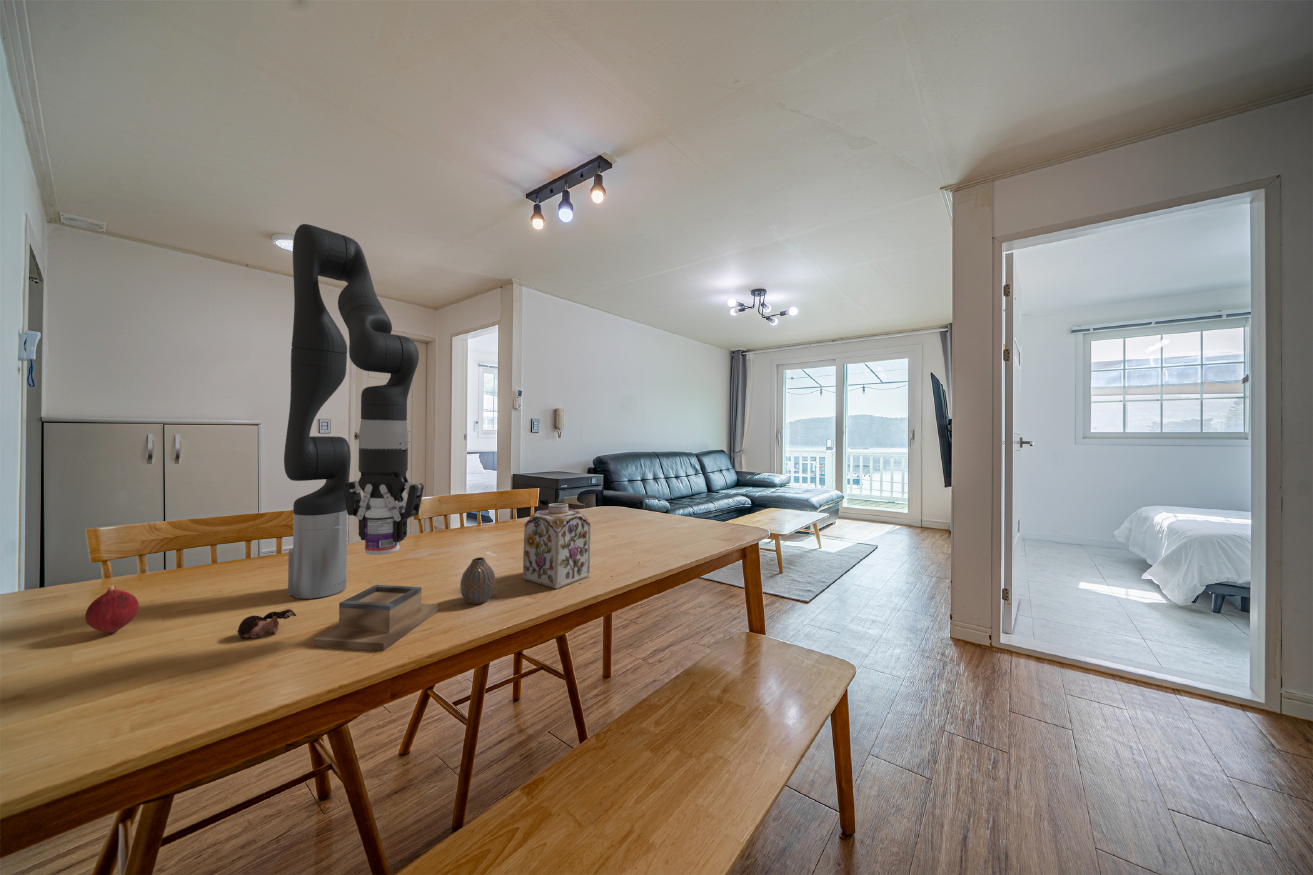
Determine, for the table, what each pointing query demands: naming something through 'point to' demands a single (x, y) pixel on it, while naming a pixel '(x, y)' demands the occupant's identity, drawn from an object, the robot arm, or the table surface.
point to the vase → (478, 582)
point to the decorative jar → (556, 546)
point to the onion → (112, 610)
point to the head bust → (262, 624)
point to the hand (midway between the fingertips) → (382, 539)
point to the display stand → (377, 618)
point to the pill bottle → (379, 529)
